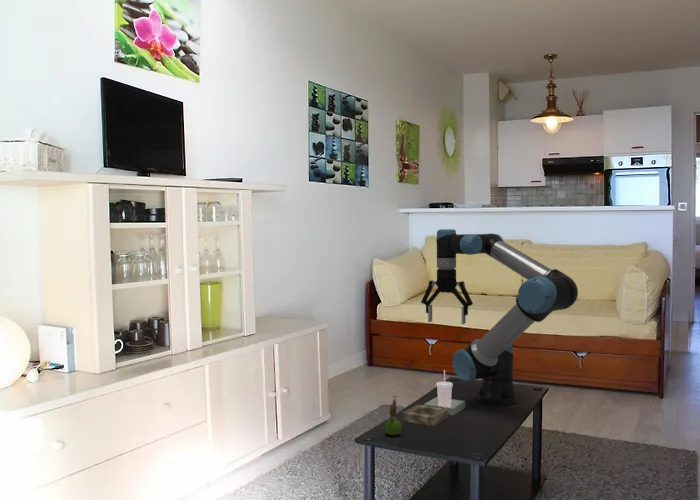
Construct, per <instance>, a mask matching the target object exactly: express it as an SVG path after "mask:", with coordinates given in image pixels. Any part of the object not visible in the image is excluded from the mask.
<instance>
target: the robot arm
mask: <svg viewBox="0 0 700 500" xmlns="http://www.w3.org/2000/svg"><path fill="white" fill-rule="evenodd" d="M435 239H436V240H435V241H436V268H437V270H436V281H435V280H432V279H431V280H429V281H428V287H427V289H426V290H425V292H424V295H423V297H422V299H421V304H423V305H425V313H426V314H428V315H427V319H428V323H432V322H433V304H432V302H434V300H435V299H436V298H437V297H438V295H439V294H440V293H452V295H454V297H456V300H458V301H459V303H460V304H461V305H462V307H461V325H465V324H466V320H467V319H466V316H468V314H469V307H470V306H473V304H474V303H473V301H472V298H471V296H470V295H469V292H468V290H467V288H466V284H465V281H463V280H462V281H457V269H456V268H457V254H458V255H460V254H461V255H467V256H468V255H469V256H470V255H471V256H472V255H478V254H485V255H487V256H489V257H491V259H494V260H495V261H497V262H499V263H500V264H501V265H503V266H505V267H506V268H509V269H510V270H511V271H512V272H515V273H516V274H518V275H520V277H522V278H525V281H523V282H522V284H521V285H520V286H519V288H518V292H517V293H518V294H517V295H516V297H515V305H513V307H512V308H510V310H508V311H507V312H506V313H505V315H503V316H502V317H501V318H500V319H499V320H498V322H497V323H495V324H494V325H493V326H492V327H491V328H490V330H488V332H487V333H485V334H484V336H482V337H481V339H480V338H477V339H474V340H473V341H471V343H470V344H469V345H468V346H466V347H465V348H461V349H459V350H457V351H455V352H454V353H453V357H452V367H453V370H454V373H455V374H456V376H457V377H459V379H461V380H462V381H466V382H467V381H475V380H479V379H482V380H481V383H480V386H479V389H478V392H477V401H478V402H479V403H482V404H485V405H491V406H498V407H499V406H512V405H515V404H517V403H518V401H519V399H518V397H519V396H518V394H517V391H516V386H515V384H514V349H513V347H514V346H513V343H514V342H515V341H516V340H517V339H518V338H519V337H520V336H521V335H522V334H524V332H525V331H526V330H527V329H529V328H530V327H531V326H532V325H533V324H534V323H535V322H536V323H541V322H543V321H544V320H545V319H546V318H547V317H548V316H549V315H551V314H552V312H555V311H560V310H561V311H563V310H567V309H569V308H570V307H572V306H573V305H574V304H575V303H576V301H577V299H578V295H579V291H578V285H577V284H576V281H574V279H572V277H570V276H569V275H567V274H565V273H564V272H562V271H560V270H559V269H557V268H553V269H551V268H549V267H548V266H547V265H545V264H543V263H541V262H540V261H537V260H535V259H534V258H532V257H530V256H528V255H527V254H525V253H524V252H522V251H520V250H519V249H517V248H515V247H514V246H512V245H510V244H508V243H506V242H505V241H504V239H503V237H502V236H501V235H500V234H497V233H475V234H474V233H467V234H466V233H465V234H463V233H462V234H457V231H456V229H454V228H453V229H452V228H451V229H448V228H447V229H444V228H443V229H438V230H437V231H436V238H435ZM435 286H437V288H436V290H435V291H434V292H433V293H432V295H431V292H432V290H433V288H434V287H435ZM457 286H458V287H459V288H460V291H461V293H459V291H458V289H457ZM461 294H462V295H463V296H462V295H461ZM430 295H431V296H430ZM429 296H430V297H429Z"/></svg>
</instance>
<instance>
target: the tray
mask: <svg viewBox="0 0 700 500" xmlns="http://www.w3.org/2000/svg"><path fill="white" fill-rule="evenodd" d="M423 405H424V406H430V407H437V408H443V409H448V416H455V415H456V414H458V413H459V412H462V410H464V409H465V408H466V400H461V399H453V398H451V407H445V406H438V396H436V397H434V398H433V399H431V400H429V401H426V402H425V403H424V404H423Z"/></svg>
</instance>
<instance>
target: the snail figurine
mask: <svg viewBox="0 0 700 500" xmlns="http://www.w3.org/2000/svg"><path fill="white" fill-rule="evenodd" d="M392 397H393V400H392V403H391V404H390V407H389V416H390V418H388V419H387V420H386V422H385V424H384V430H385V432H386V434H388V435H389V436H397V435H399V434H400V433H401V431H402V423H401V421H400V420H399V419H398V418H396V416H397V395H392Z"/></svg>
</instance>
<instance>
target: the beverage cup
mask: <svg viewBox="0 0 700 500" xmlns="http://www.w3.org/2000/svg"><path fill="white" fill-rule="evenodd" d="M435 386H436V389H437V397H438V406H445V407H451V399H452V393H453V391H452V390H453V386H454V385H453V382H450V381H446V370H445V369H443V381H439V382H438V381H437V382H436V384H435Z"/></svg>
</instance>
